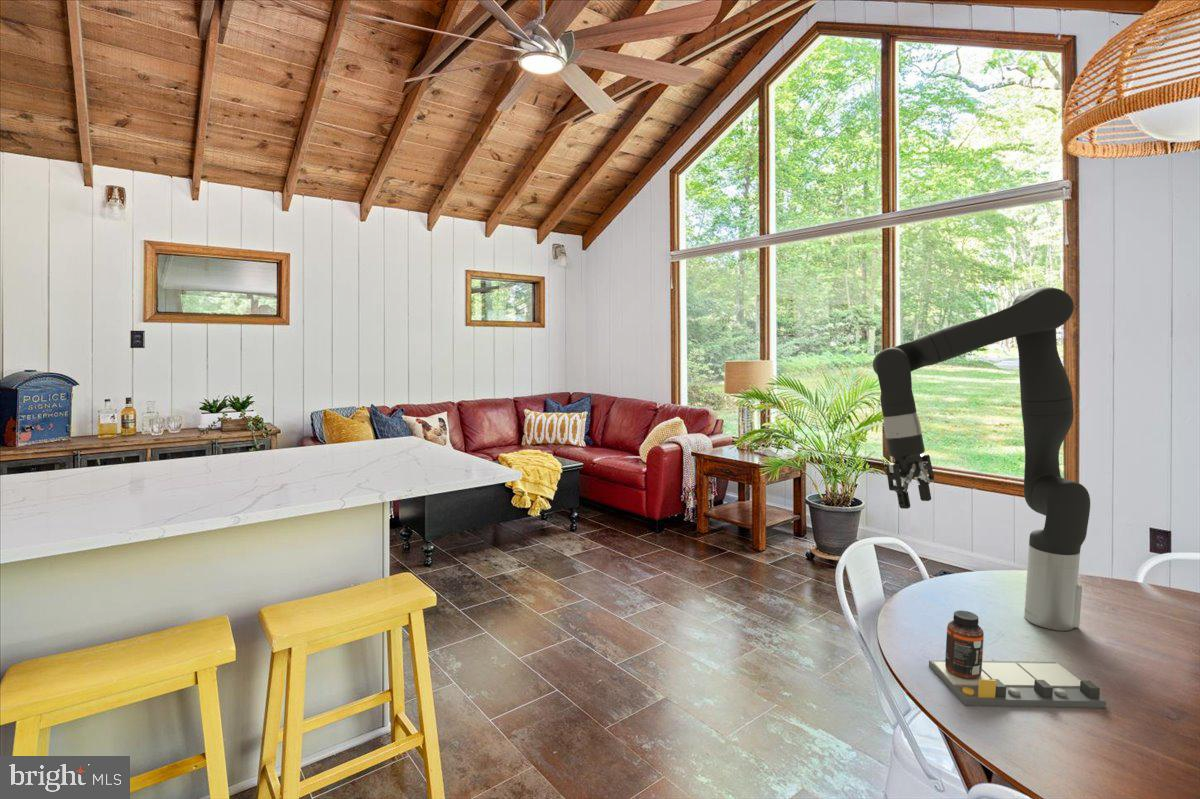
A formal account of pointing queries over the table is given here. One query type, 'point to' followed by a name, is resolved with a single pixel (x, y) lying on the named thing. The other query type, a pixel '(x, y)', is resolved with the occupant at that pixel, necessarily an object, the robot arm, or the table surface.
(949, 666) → the supplement bottle
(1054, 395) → the robot arm
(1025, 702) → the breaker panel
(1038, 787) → the table surface
